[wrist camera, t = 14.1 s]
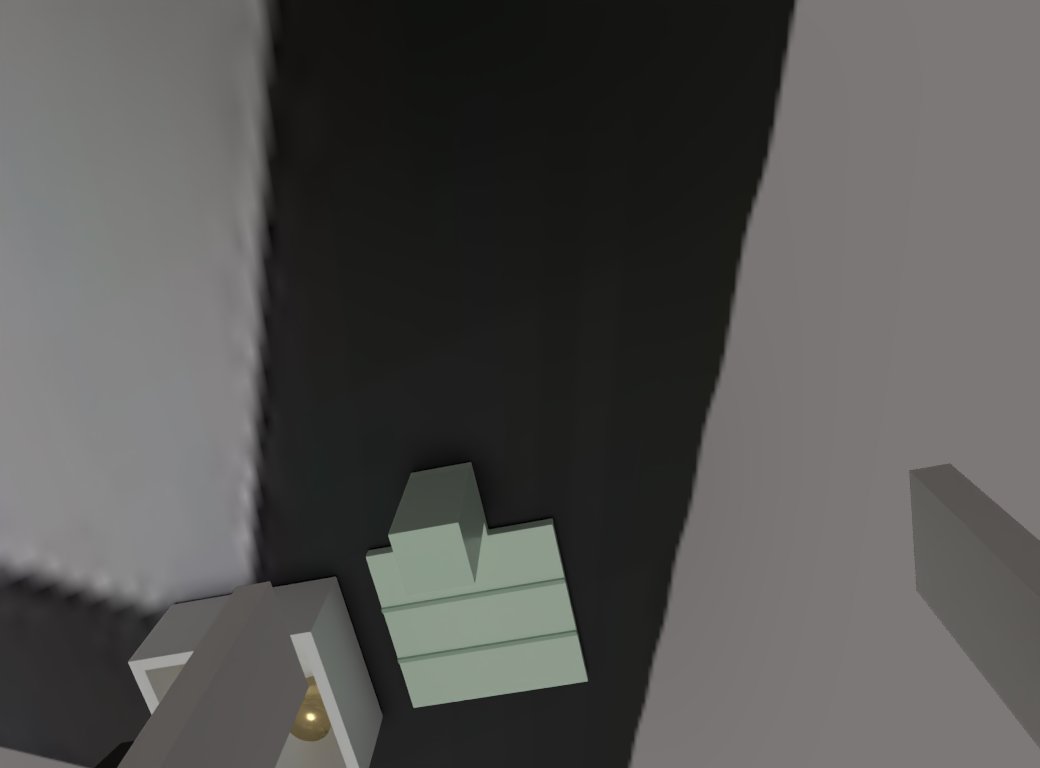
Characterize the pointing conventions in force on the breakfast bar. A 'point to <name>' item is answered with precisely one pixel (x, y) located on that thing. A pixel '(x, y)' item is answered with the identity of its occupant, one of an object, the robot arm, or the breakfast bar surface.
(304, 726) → the cylinder
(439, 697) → the green stepped block
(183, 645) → the tub
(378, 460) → the breakfast bar surface
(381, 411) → the breakfast bar surface
